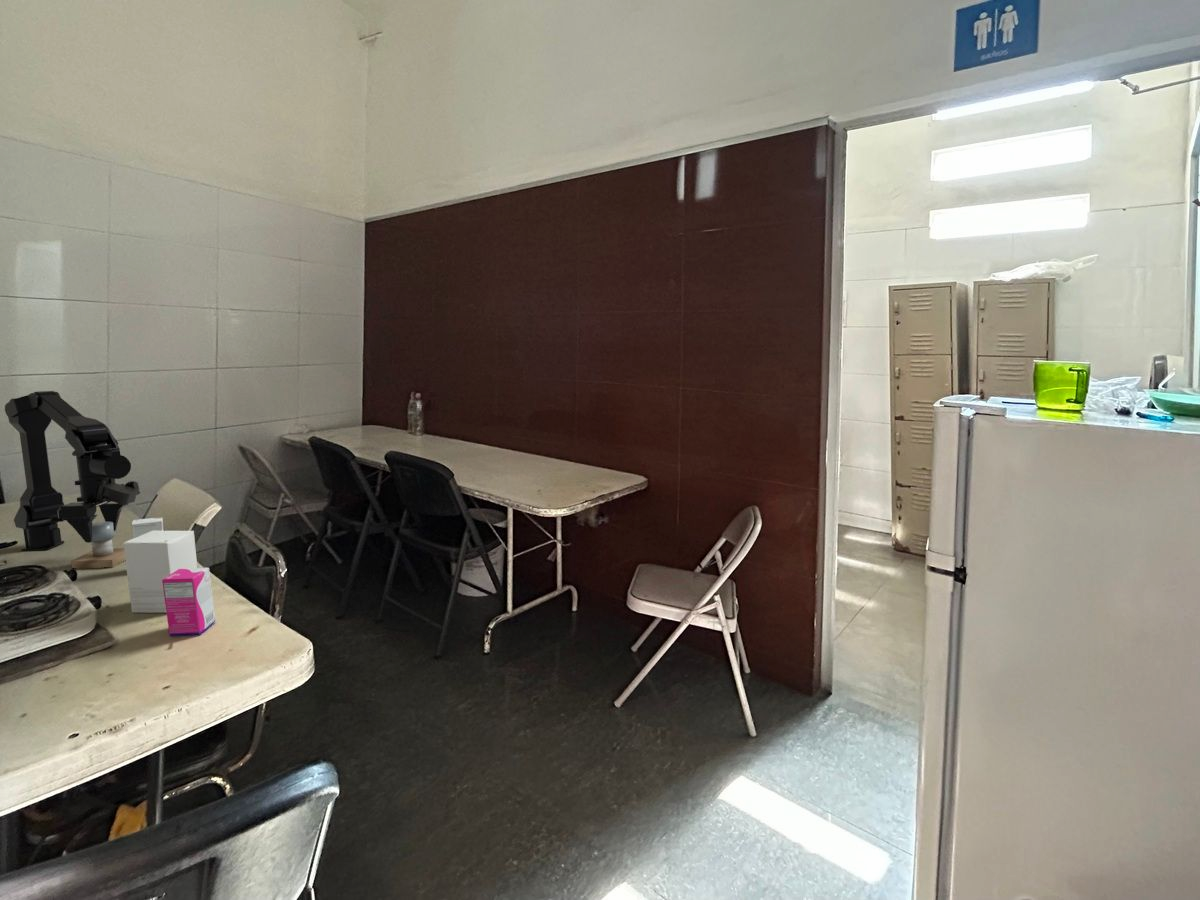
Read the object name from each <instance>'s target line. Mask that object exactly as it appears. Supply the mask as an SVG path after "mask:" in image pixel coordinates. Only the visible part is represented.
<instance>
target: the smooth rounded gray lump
mask: <svg viewBox="0 0 1200 900" xmlns="http://www.w3.org/2000/svg"><path fill="white" fill-rule="evenodd" d="M111 538H112V539H113V538H115V531H114V528H113V522H105V521H97V522H92V541H103V540H108V539H111Z"/></svg>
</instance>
